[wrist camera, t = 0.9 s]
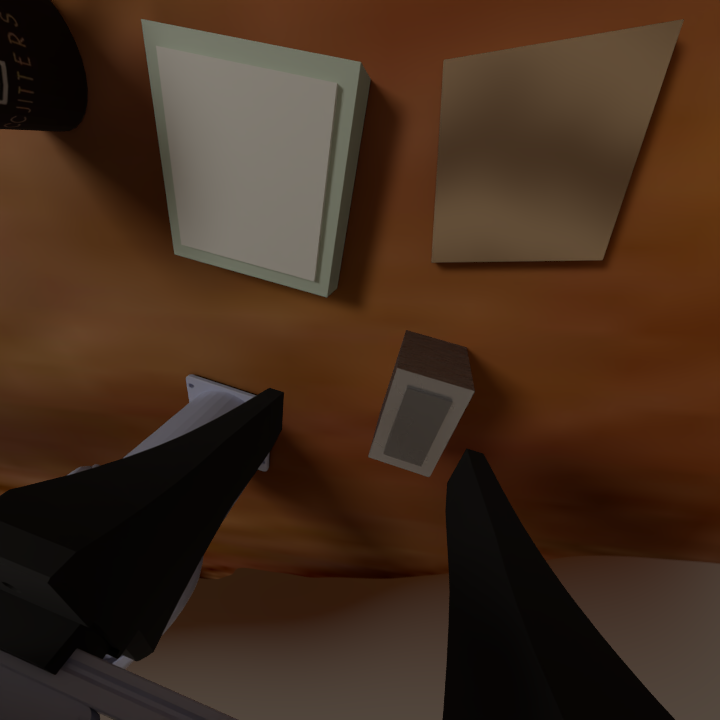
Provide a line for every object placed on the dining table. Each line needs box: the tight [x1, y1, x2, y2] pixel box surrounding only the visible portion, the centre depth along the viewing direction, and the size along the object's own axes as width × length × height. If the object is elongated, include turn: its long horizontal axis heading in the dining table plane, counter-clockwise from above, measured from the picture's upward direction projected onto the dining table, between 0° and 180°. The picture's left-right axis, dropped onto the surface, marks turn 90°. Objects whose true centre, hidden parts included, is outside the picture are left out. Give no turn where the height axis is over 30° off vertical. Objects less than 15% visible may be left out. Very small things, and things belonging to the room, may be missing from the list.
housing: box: [368, 330, 475, 477], centre depth 18 cm, size 7×4×5 cm, turn 168°
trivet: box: [431, 19, 684, 263], centre depth 13 cm, size 8×8×1 cm
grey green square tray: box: [141, 19, 371, 297], centre depth 15 cm, size 10×10×2 cm
